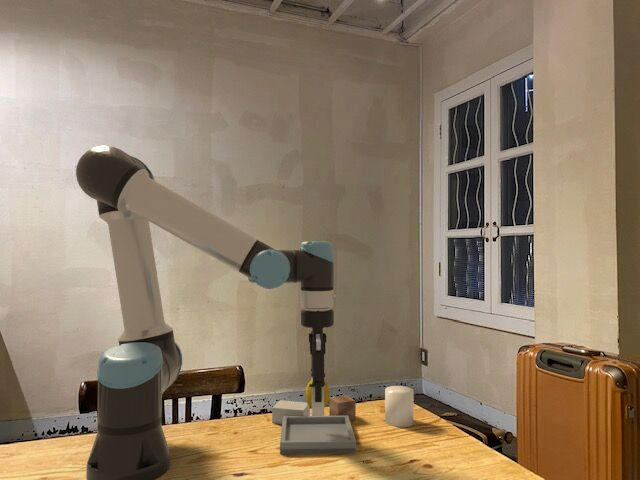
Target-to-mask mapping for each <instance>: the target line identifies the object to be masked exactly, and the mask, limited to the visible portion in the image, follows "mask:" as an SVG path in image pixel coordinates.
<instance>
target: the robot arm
mask: <svg viewBox="0 0 640 480" xmlns="http://www.w3.org/2000/svg"><path fill="white" fill-rule="evenodd" d="M75 168H76V169H75V177H76V181H77V184H78V187H80V189H81V190H82V192H84V193H85V195H87V196H88V197H90V198H91V199H93V200H95V201H96V203H97V204H96V205H97V213H98V218H100V219H101V220H103V221H104V222H106V224H107V225H108V226H107V227H108V232H109V240H110V246H111V252H112V253H111V254H112V259H113V265H114V271H115V277H116V284H117V289H118V298H119V303H120V310H121V315H122V321H123V322H122V323H123V329H124V330H123V332H122V334H121V335H120V336H119V338H118V345H115V346H111V347H110V348H108V349H106V350H105V351H104V352H102V353H101V355H100V357H99V359H98V366H97V372H96V376H97V377H96V378H97V414H96V415H97V416H96V417H97V422H96V423H97V425H96V426H97V427H96V428H97V429H96V431H97V432H96V436H95V439H94V442H93V444H92V448H91V451H90V454H89V456H88V459H87V462H86V471H85V472H86V473H85V475H86V476H85V477H86V479H87V480H154V479H156V478H158V477H161V476H162V475H163V474H164V473H166V472H167V470H168V469H169V468H170V466H171V451H170V448H169V444H168V441H167V438H166V436H165V435H166V434H165V432H164V430H163V426H162V413H163V411H162V410H163V409H162V407H163V405H162V401H163V400H162V399H163V397H162V396H163V393H164V392H166V390H167V389H168V388H169V387H170V386H172V385H173V384H174V382H175V381H176V380H177V379H178V377H179V375H180V372H181V370H182V366H183V354H182V350H181V348H180V346H179V344H178V343H176V340H175V336H174V329H173V326H172V327H171V326H170V325H169V324H167V323H166V322H165V321H166V320H165V317H164V309H163V303H162V298H161V291H160V285H159V278H158V271H157V266H156V265H157V264H156V257H155V253H154V252H155V251H154V245H153V239H152V231H151V227H150V225H151V224H150V223H152V224H153V225H155V226H156V227H158V228H159V229H162V230H164V231H166V232H168V233H170V234H171V235H173V236H174V237H176V238H178V239H179V240H182V241H183V242H185V243H187V244H189V245H190V246H193V247H194V248H196V249H198V250H200V251H202V252H203V253H205V254H207V255H208V256H210V257H212V258H214V259H215V260H217V261H219V262H220V263H223V264H224V265H226V266H228V267H229V268H232V269H233V270H235V271H237V272H239V273H241V274H242V275H243V276H245V277H246V278H248V282H250V283H252V284H256V285H257V286H259V287H260V288H264V289H267V290H272V289H277V288H280V287H281V286H283V285H284V284H289V283H290V284H297V283H299V284H300V307H301V308H303V309H301V311H300V325H301V327H303V328H309V329H310V328H311V332H309V333H308V343H309V354H310V356H311V362H310V363H311V367H310V372H311V373H310V375H311V376H310V377H311V379H310V381H311V380H312V379H313V382H312V384H309V387H312V408H311V416H325V408H324V386H325V382H324V381H325V378H326V373H325V355H326V352H327V351H326V343H327V334H326V333H325V332H324V331H323V330H324V328H330V327H333V326H334V324H335V323H334V322H335V318H334V317H335V315H334V313H335V312H334V310H333V309H331V308H333V307H334V299H335V298H337V294H335V293H334V277H335V276H334V268H335V266H334V265H335V264H334V263H335V260H334V249H333V248H334V247H333V244H332V243H331V242H330V241H324V240H321V241H319V240H318V241H302V242H301V243H300V247H299V249H293V250H289V249H288V250H287V249H283V250H282V249H275V248H273V247H272V246H270V245H268V244H266V243H264V242H263V241H260V240H259V239H258V238H256V237H253V236H252V235H250V234H249V233H247V232H245V231H243V230H242V229H240V228H238V227H236V226H235V225H233V224H231V223H229V222H227V221H226V220H224V219H223V218H221V217H219V216H217V215H216V214H214V213H212V212H211V211H209V210H207V209H205V208H203V207H201V206H200V205H198V204H196V203H195V202H193V201H191V200H189V199H188V198H186V197H184V196H183V195H181V194H178V192H175V191H173V190H172V189H171V188H168V187H167V186H165V185H163V184H162V183H160V182H157V181H156V180H155V176H154V175H153V172H152V171H151V169H149V167H148V166H147V164H145V163H144V162H143V161H142V160H141V159H139V158H137V157H134V156H133V155H130V154H129V153H127V152H125V151H124V150H122V149H120V148H117V147H115V146H111V145H100V146H99V145H98V146H95V147H93V148H91V149H88V150H87V151H86V152H84V154H82V155H81V156H80V157H79V160H78V162H77V164H76V167H75Z"/></svg>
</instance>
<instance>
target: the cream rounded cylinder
mask: <svg viewBox="0 0 640 480" xmlns="http://www.w3.org/2000/svg"><path fill="white" fill-rule="evenodd" d="M384 390H385V391H384V407H385V408H384V411H385V412H384V423H385V424H386V425H389V426H392V427H393V428H394V427H395V428H408V427H411V426H412V425H414V401H415V400H414V394H415V393H414V389H413V388H411V387H409V386H404V385H390V386H387V387H385V389H384Z"/></svg>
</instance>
